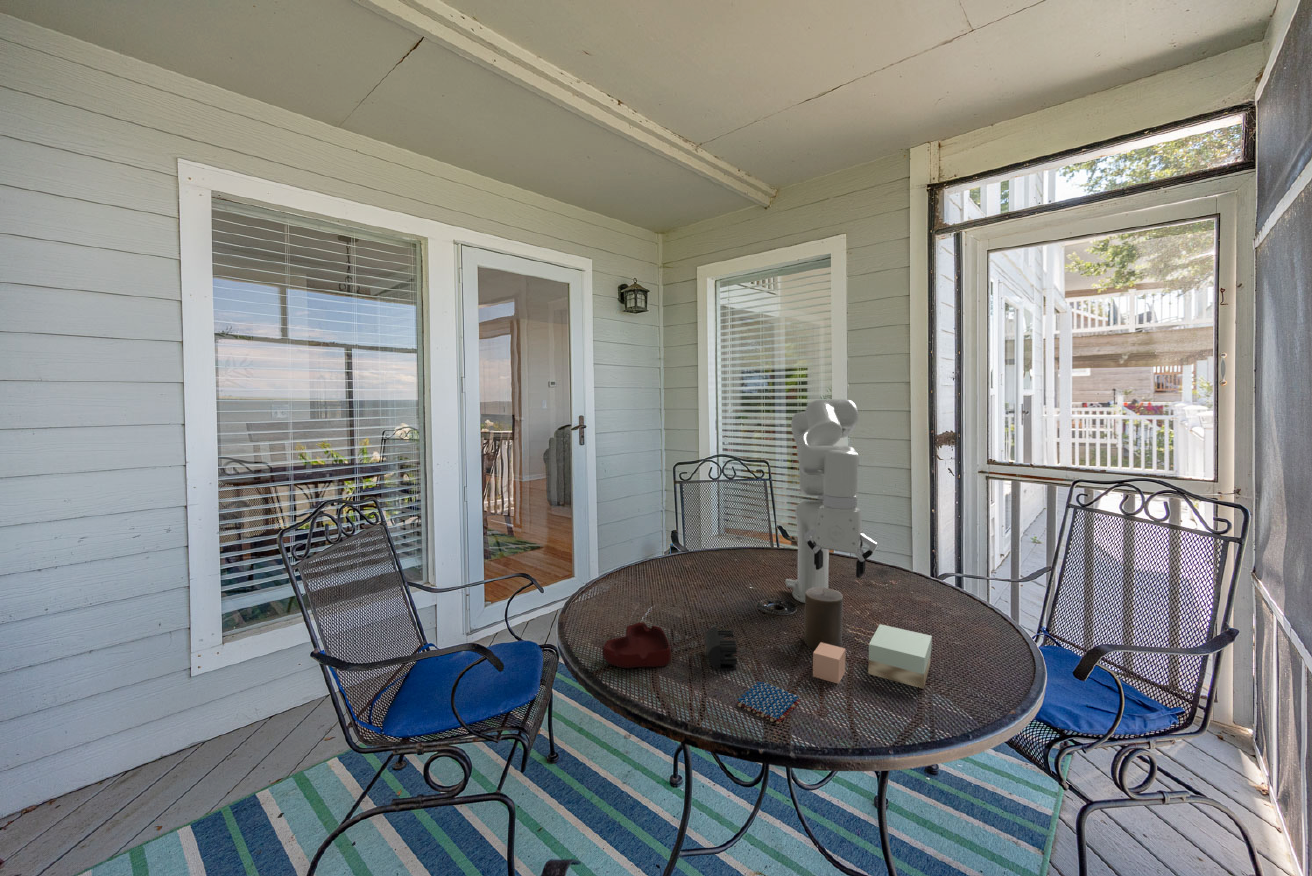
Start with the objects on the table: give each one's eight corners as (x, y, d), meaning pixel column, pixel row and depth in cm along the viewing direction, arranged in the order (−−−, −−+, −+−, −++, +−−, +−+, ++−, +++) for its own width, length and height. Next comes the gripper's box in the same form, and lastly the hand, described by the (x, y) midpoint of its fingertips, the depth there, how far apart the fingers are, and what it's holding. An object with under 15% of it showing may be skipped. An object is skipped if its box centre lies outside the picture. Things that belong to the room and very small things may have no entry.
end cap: (705, 650, 141) (704, 626, 140) (732, 650, 141) (732, 626, 140) (708, 671, 131) (707, 645, 131) (737, 671, 131) (737, 645, 130)
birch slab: (868, 675, 129) (868, 659, 128) (878, 653, 139) (878, 638, 138) (923, 690, 122) (924, 674, 122) (930, 666, 132) (930, 650, 132)
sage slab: (868, 659, 128) (868, 644, 128) (879, 638, 138) (879, 624, 138) (924, 674, 122) (924, 657, 121) (931, 651, 132) (931, 635, 131)
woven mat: (779, 728, 111) (779, 719, 110) (735, 708, 118) (735, 699, 117) (802, 704, 118) (802, 695, 118) (760, 686, 125) (760, 678, 125)
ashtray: (651, 684, 127) (651, 664, 126) (596, 666, 135) (596, 647, 135) (687, 651, 142) (687, 633, 141) (636, 636, 150) (635, 619, 150)
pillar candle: (822, 655, 138) (824, 599, 136) (796, 639, 146) (797, 586, 144) (849, 646, 142) (851, 592, 140) (822, 631, 151) (824, 579, 149)
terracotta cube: (812, 676, 128) (813, 652, 128) (820, 665, 133) (820, 642, 133) (838, 684, 125) (839, 659, 124) (845, 672, 130) (845, 648, 129)
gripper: (799, 500, 129) (798, 569, 131) (873, 509, 119) (872, 584, 121) (810, 495, 135) (809, 561, 137) (882, 503, 125) (881, 574, 127)
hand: (839, 572), depth 129 cm, fingers open, 9 cm apart
